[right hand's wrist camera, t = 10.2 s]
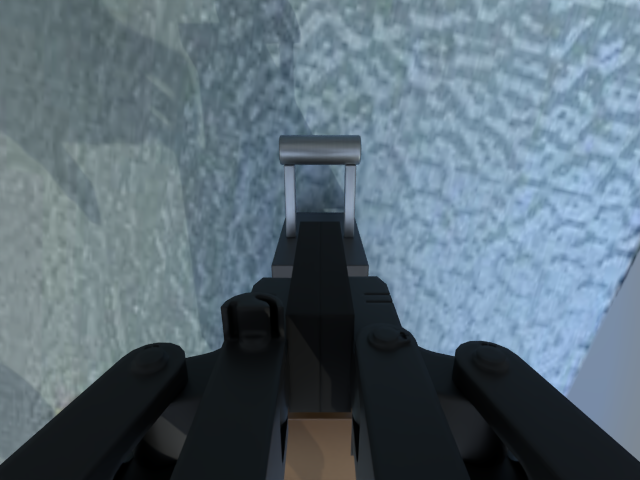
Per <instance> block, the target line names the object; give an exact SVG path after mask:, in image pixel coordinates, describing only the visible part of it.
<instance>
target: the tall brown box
mask: <svg viewBox="0 0 640 480" xmlns="http://www.w3.org/2000/svg"><path fill="white" fill-rule="evenodd" d="M351 432H352V405H351V412H289V407H288V442H287V453H286V463H285V474H284V480H356V474H355V463H354V456H351Z"/></svg>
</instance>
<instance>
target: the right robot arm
mask: <svg viewBox="0 0 640 480" xmlns="http://www.w3.org/2000/svg"><path fill="white" fill-rule="evenodd" d="M221 314H222V323H223V332H224V342H223V345H222V347H221V348H220V349H218V350H216V351H214V352H210V353H207V354H203V355H198V356H193V357H188V358H185V352H184V350H183V349H182V348H181V347H180V346H178V345H175V344H172V343H153V344H148V345H145V346H142V347H140V348H137V349H135V350H133V351H131V352H130V353H128V354H127V355H125V356H124V357H122V358H121V359H120V360H119V361H118V362H117V363H116V364H114V365H113V366H112V367H111V368H110V369H109V370H108V371H106V372H105V373H104V374H103V375H102V376H101V377H100V378H99V379H97V380H96V381H95V382H94V383H93V384H92V385H91V386H89V387H88V388H87V389H86V390H85V391H84V392H83V393H81V394H80V395H79V396H78V397H77V398H76V399H75V400H74V401H72V402H71V403H70V404H69V405H68V406H67V407H66V408H64V409H63V410H62V411H61V412H60V413H59V414H58V415H56V416H55V417H54V418H53V419H52V420H51V421H50V422H49V423H47V424H46V425H45V426H44V427H43V428H42V429H41V430H39V431H38V432H37V433H36V434H35V435H34V436H33V437H31V438H30V439H29V440H28V441H27V442H26V443H25V444H24V445H22V446H21V447H20V448H19V449H18V450H17V451H16V452H14V453H13V454H12V455H11V456H10V457H9V458H8V459H6V460H5V461H4V462H3V463H2V464H1V465H0V480H284V474H285V463H286V453H287V442H288V407H289V412H351V405H352V432H351V456H354V463H355V474H356V480H640V462H639V461H638V460H637V459H636V458H635V457H633V456H632V455H631V454H630V453H629V452H628V451H627V450H625V449H624V448H623V447H622V446H621V445H620V444H619V443H617V442H616V441H615V440H614V439H613V438H612V437H611V436H609V435H608V434H607V433H606V432H605V431H604V430H602V429H601V428H600V427H599V426H598V425H597V424H596V423H594V422H593V421H592V420H591V419H590V418H589V417H588V416H586V415H585V414H584V413H583V412H582V411H581V410H580V409H578V408H577V407H576V406H575V405H574V404H573V403H572V402H570V401H569V400H568V399H567V398H566V397H565V396H564V395H562V394H561V393H560V392H559V391H558V390H557V389H556V388H554V387H553V386H552V385H551V384H550V383H549V382H548V381H546V380H545V379H544V378H543V377H542V376H541V375H540V374H538V373H537V372H536V371H535V370H534V369H533V368H532V367H530V366H529V365H528V364H527V363H526V362H525V361H524V360H522V359H521V358H520V357H519V356H518V355H516V354H515V353H513V352H512V351H510V350H509V349H507V348H505V347H502V346H500V345H497V344H495V343H491V342H485V341H469V342H466V343H463V344H461V345H460V346H459V347H458V348H457V349H456V351H455V356H450V355H445V354H440V353H436V352H432V351H429V350H426V349H423V348H421V347H419V346H418V344H417V342H416V339H415V338H414V337H413V335H412V334H411V333H410V332H409V331H407V330H406V329H404V328H403V327H402V326H401V323H400V321H399V318H398V315H397V312H396V309H395V307H394V304H393V303H392V298H391V296H390V293H389V290H388V287H387V284H386V283H384V282H383V281H382V280H381V279H379V278H378V277H377V276H348V270H347V264H346V258H345V252H344V245H343V239H342V233H341V227H340V221H300V227H299V233H298V239H297V245H296V252H295V258H294V264H293V270H292V277H291V278H262V279H261V280H260V281H258V282H257V283H256V284H255V285H254V286H253V289H252V291H251V293H244V294H241V295H237V296H234V297H232V298H231V299H229V300H227V301H226V302H225V303H224V304H223V305H222V306H221Z"/></svg>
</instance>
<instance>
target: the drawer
mask: <svg viewBox="0 0 640 480" xmlns="http://www.w3.org/2000/svg"><path fill="white" fill-rule="evenodd" d="M279 158H280V163H281V164H282V165H284V180H285V209H286V218H285V221H284V225H283V228H282V232H281V235H280V238H279V242H278V245H277V249H276V252H275V256H274V259H273V263H272V278H291V277H292V270H293V264H294V258H295V252H296V245H297V239H298V233H299V227H300V221H340V227H341V233H342V239H343V245H344V252H345V258H346V264H347V270H348V276H368V270H369V265H368V262H367V258H366V255H365V251H364V248H363V245H362V241H361V238H360V234H359V231H358V227H357V224H356V221H355V217H354V215H355V185H356V165H359V164H360V160H361V137H360V136H359V135H281V136H280V138H279ZM295 165H345V188H344V213H296V181H295Z"/></svg>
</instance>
